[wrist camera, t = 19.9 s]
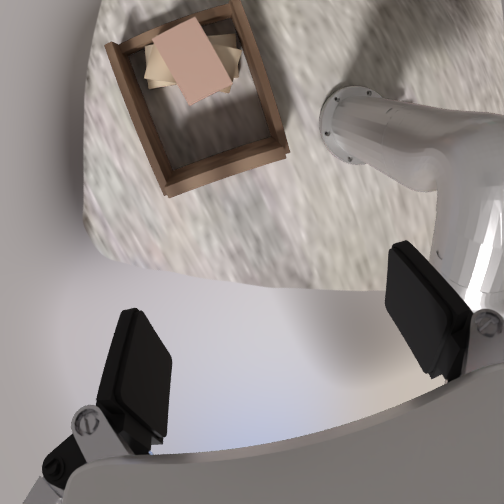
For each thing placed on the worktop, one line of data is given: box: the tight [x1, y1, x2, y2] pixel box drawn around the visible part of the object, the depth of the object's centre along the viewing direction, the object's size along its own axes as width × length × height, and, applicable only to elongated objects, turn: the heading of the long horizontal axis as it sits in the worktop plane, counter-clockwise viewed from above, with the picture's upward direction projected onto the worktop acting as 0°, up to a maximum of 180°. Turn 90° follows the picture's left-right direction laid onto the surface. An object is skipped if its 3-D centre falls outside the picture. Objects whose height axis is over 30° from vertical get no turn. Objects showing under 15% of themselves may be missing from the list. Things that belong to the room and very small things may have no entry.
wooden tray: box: [104, 0, 290, 198], centre depth 32 cm, size 17×22×8 cm
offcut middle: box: [144, 35, 242, 93], centre depth 30 cm, size 11×6×2 cm, turn 74°
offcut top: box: [152, 17, 233, 106], centre depth 28 cm, size 10×6×2 cm, turn 25°
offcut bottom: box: [145, 34, 239, 89], centre depth 32 cm, size 12×6×2 cm, turn 93°
